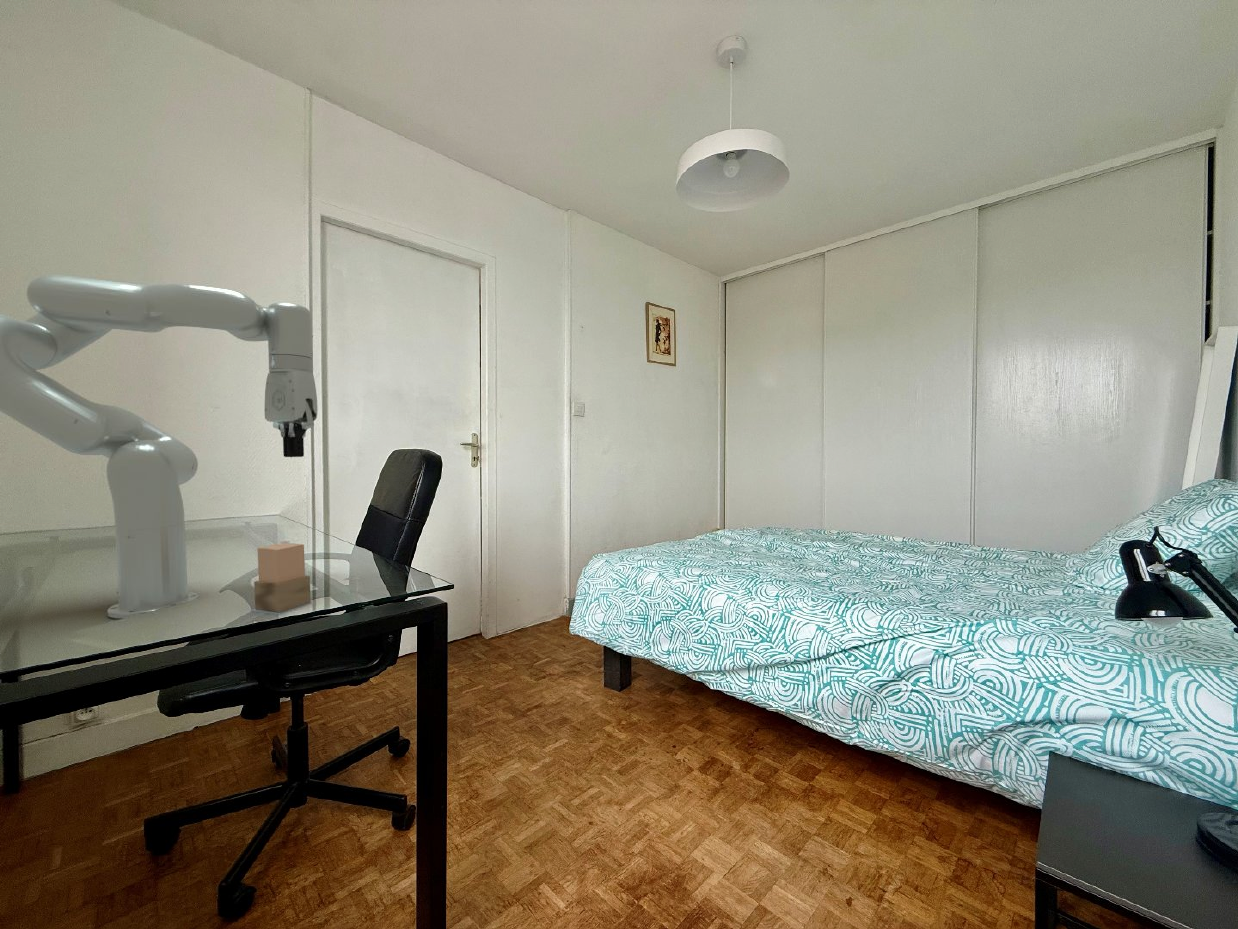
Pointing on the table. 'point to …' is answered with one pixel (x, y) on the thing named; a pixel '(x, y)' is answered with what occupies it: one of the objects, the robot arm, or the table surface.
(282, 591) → the walnut block
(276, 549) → the terracotta block
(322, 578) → the table surface
